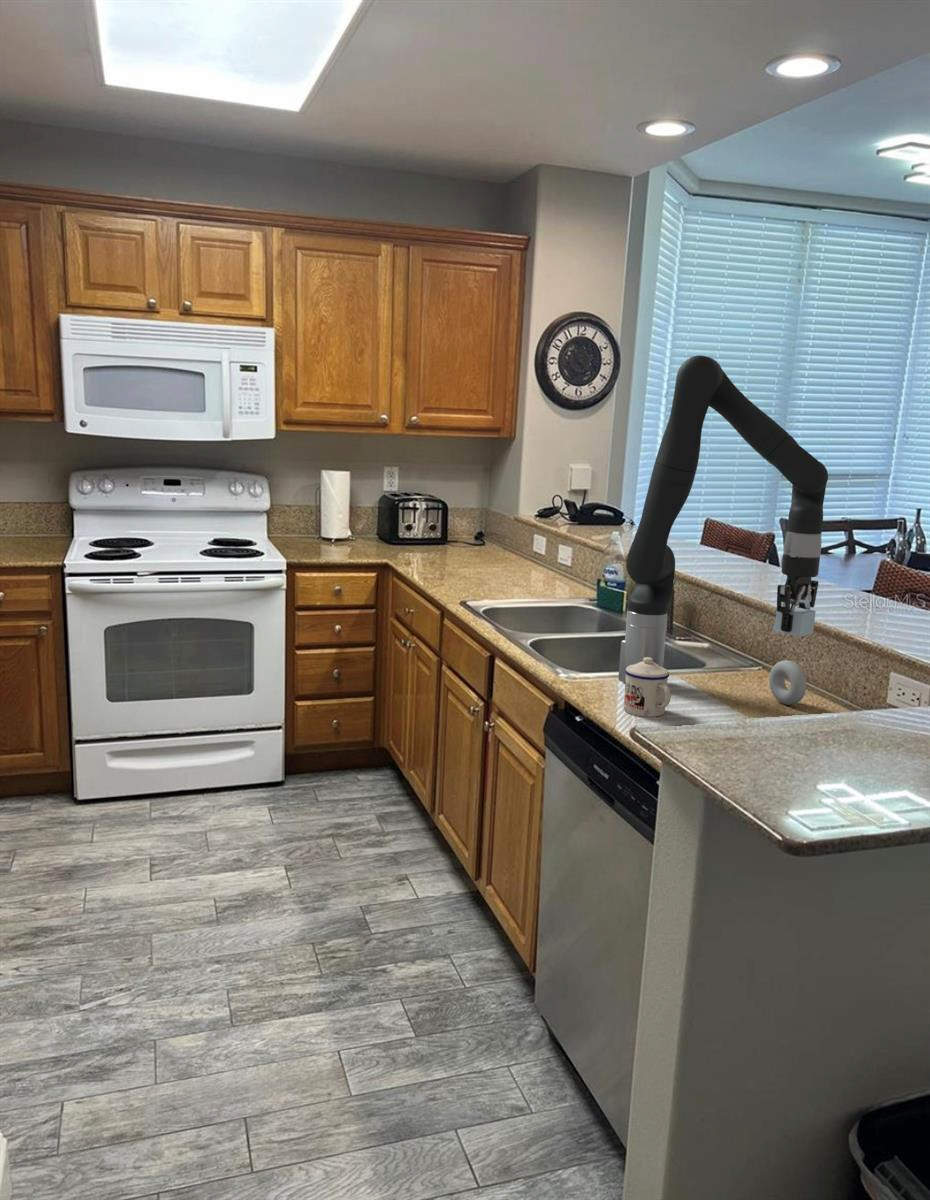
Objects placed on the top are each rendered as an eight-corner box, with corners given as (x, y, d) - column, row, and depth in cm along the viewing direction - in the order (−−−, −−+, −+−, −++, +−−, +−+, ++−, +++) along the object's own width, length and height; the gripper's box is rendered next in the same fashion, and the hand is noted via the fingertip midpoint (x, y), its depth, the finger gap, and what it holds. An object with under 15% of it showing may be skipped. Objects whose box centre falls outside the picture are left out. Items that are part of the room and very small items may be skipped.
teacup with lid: (613, 707, 197) (617, 654, 194) (646, 702, 201) (651, 651, 199) (649, 724, 186) (654, 669, 184) (684, 719, 191) (689, 665, 188)
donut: (763, 698, 208) (768, 655, 206) (775, 697, 209) (780, 654, 207) (795, 711, 199) (800, 667, 197) (807, 710, 200) (812, 666, 199)
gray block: (774, 631, 201) (776, 609, 200) (787, 628, 205) (789, 606, 204) (799, 636, 197) (802, 613, 196) (813, 633, 201) (815, 610, 200)
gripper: (801, 549, 205) (793, 622, 208) (768, 553, 196) (760, 630, 199) (834, 553, 200) (825, 628, 203) (802, 558, 190) (793, 637, 193)
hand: (793, 629), depth 201 cm, fingers closed on gray block, 6 cm apart
